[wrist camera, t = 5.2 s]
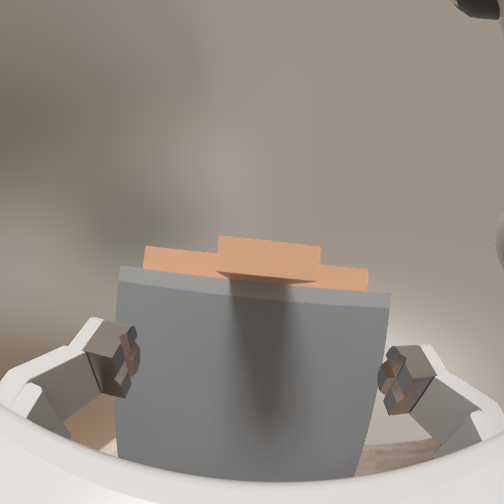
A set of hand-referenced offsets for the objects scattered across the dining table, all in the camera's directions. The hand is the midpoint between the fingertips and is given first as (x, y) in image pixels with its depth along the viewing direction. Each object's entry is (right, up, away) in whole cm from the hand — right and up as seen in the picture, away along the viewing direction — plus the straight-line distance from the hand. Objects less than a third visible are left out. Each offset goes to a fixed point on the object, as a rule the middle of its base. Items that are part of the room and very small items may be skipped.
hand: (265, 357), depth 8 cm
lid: (0, +1, +13) cm, 13 cm away
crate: (-3, -25, +14) cm, 29 cm away
